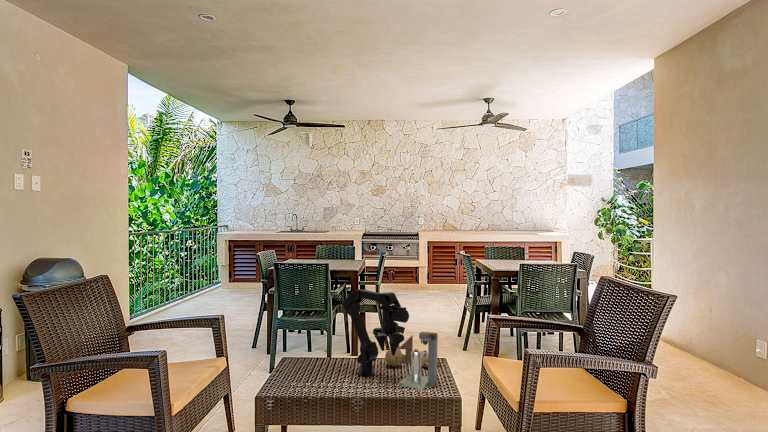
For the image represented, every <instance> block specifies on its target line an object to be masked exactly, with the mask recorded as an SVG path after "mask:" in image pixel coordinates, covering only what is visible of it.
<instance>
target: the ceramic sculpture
mask: <svg viewBox="0 0 768 432" xmlns="http://www.w3.org/2000/svg"><path fill="white" fill-rule="evenodd" d="M442 364H443V362H442V361H439V360H437V366H439V365H442ZM421 367H424V368H427V369H428V351H427V350H422V351H421Z"/></svg>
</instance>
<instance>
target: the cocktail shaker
mask: <svg viewBox="0 0 768 432" xmlns="http://www.w3.org/2000/svg"><path fill="white" fill-rule="evenodd" d="M421 352H422V351H420V350H419V349H418V348H414V350H413V351H411V363H410V374H411V381H414V382H419V381H421V376H422V365H421Z"/></svg>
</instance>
